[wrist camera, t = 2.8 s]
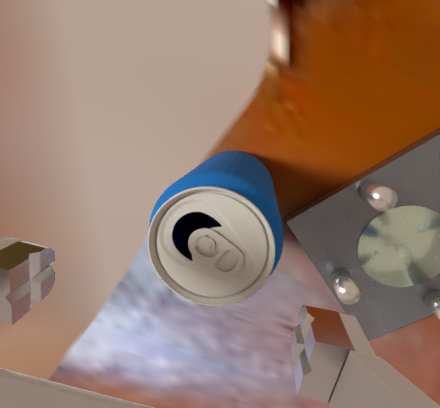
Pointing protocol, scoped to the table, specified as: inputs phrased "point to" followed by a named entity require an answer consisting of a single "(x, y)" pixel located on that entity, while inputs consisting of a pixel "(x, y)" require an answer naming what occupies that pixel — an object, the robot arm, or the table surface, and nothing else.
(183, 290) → the beverage can
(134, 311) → the table surface
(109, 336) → the table surface
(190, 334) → the table surface
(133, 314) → the table surface
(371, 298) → the plate
